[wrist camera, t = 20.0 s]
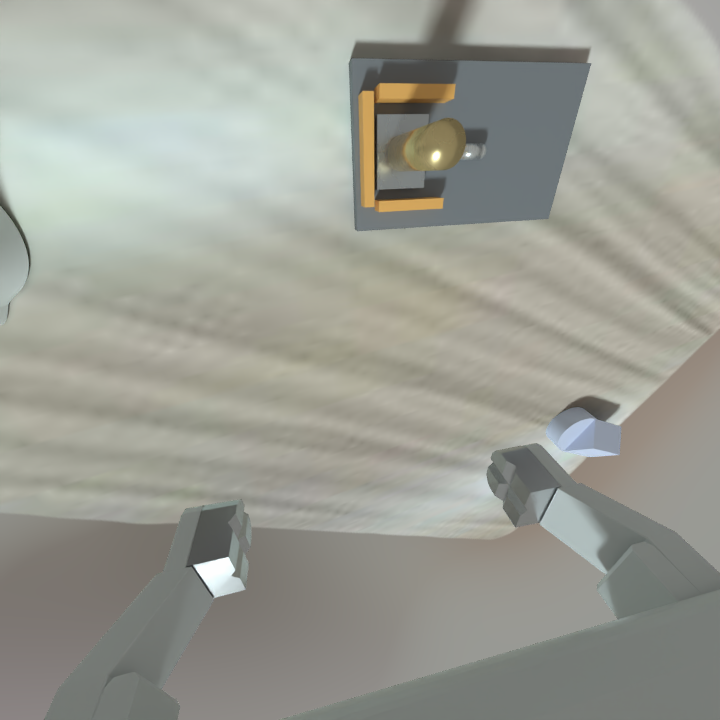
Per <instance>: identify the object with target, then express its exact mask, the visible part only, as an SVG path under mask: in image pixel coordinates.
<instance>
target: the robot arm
mask: <svg viewBox="0 0 720 720" xmlns="http://www.w3.org/2000/svg"><path fill="white" fill-rule="evenodd" d="M28 271H29V260H28V254H27V250H26V247H25V244H24V241H23V239H22V237H21V235H20V233H19V231H18V229H17V228H16V226H15V224H14V223H13V221H12V220H11V219H10V217H9V216H8V215H7V213H6V212H5V211H4V210H3V208H2V207H1V206H0V325H3V324H4V323H5V322H6V319H7V315H8V304H9V302H10V301H11V299H12V298H13V297H14V296H15V295H16V294H17V293H18V292H19V291H20V290H21V289H22V287H23V286H24V284H25V282H26V279H27V276H28ZM491 460H492V461H493V463H492V464H491V465H490V466H489V467H488V470H487V480H488V484H489V486H490V488H491V490H492V492H493V493H494V495H495V496H496V497H498V498H499V499H501V500H503V509H504V511H505V512H506V514H507V515H508V517H509V519H510V520H511V522H512V523H513V525H514V526H515V527H520V526H525V525H530V524H535V523H540V525H541V526H543V527H544V528H545V529H546V530H548V531H549V532H550V533H552V534H553V535H554V536H556V537H557V538H558V539H560V540H561V541H562V542H564V543H565V544H566V545H568V546H569V547H570V548H572V549H573V550H574V551H575V552H577V553H578V554H579V555H581V556H582V557H583V558H585V559H586V560H587V561H589V562H590V563H591V564H593V565H594V566H595V567H596V568H598V569H599V570H600V571H602V572H603V573H604V574H606V575H605V576H604V578H603V579H602V580H601V581H600V582H599V584H598V585H597V591H598V593H599V594H600V595H601V597H602V598H603V600H604V601H605V602H606V604H607V605H608V606H609V608H610V609H611V611H612V612H613V613H614V615H615V616H616V618H617V619H618V620H614V621H611V622H608V623H604V624H601V625H597V626H594V627H591V628H587V629H584V630H581V631H577V632H574V633H570V634H567V635H564V636H560V637H557V638H554V639H550V640H547V641H543V642H540V643H537V644H533V645H530V646H527V647H523V648H520V649H516V650H513V651H510V652H506V653H503V654H499V655H496V656H493V657H489V658H486V659H483V660H479V661H476V662H473V663H469V664H466V665H462V666H459V667H456V668H452V669H449V670H445V671H442V672H439V673H435V674H432V675H429V676H425V677H422V678H418V679H415V680H412V681H409V682H405V683H402V684H398V685H395V686H391V687H388V688H385V689H381V690H378V691H375V692H371V693H368V694H364V695H361V696H358V697H354V698H351V699H348V700H344V701H341V702H337V703H334V704H331V705H327V706H324V707H321V708H317V709H314V710H311V711H307V712H304V713H300V714H297V715H294V716H290V717H287V718H284V719H280V720H720V573H719V572H718V571H717V570H716V569H715V568H714V567H713V566H712V565H710V563H708V562H707V561H706V560H705V559H704V558H703V557H702V556H701V555H700V554H699V553H698V552H697V551H695V550H694V549H693V548H692V547H691V546H690V545H689V544H688V543H687V542H686V541H685V540H684V539H683V538H682V537H681V536H680V535H678V534H677V533H676V532H675V531H673V530H671V529H669V528H667V527H665V526H663V525H661V524H659V523H657V522H655V521H653V520H651V519H650V518H648V517H646V516H644V515H642V514H640V513H638V512H636V511H634V510H632V509H630V508H628V507H626V506H624V505H623V504H621V503H618V502H617V501H615V500H613V499H611V498H609V497H607V496H605V495H603V494H601V493H599V492H597V491H595V490H593V489H592V488H590V487H588V486H586V485H584V484H582V483H579V484H577V483H576V482H575V481H574V480H573V479H572V478H571V477H570V476H569V475H568V474H567V473H566V471H565V470H564V469H563V468H562V467H561V466H560V465H559V464H558V463H557V462H556V461H555V460H554V459H553V458H552V456H551V455H550V454H549V453H548V452H547V451H546V450H545V449H544V448H543V447H542V446H541V445H539V444H537V443H535V444H529V445H524V446H517V447H512V448H507V449H502V450H498V451H495V452H493V453H492V456H491ZM244 506H245V505H244V503H243V501H242V499H239V500H233V501H227V502H221V503H215V504H210V505H203V506H198V507H192V508H187V509H185V511H184V512H183V514H182V515H181V518H180V521H179V524H178V527H177V530H176V534H175V537H174V540H173V543H172V546H171V549H170V552H169V556H168V558H167V561H166V564H165V567H164V570H163V572H162V573H158V574H156V575H155V577H154V578H153V579H152V580H151V581H150V582H149V583H148V585H147V586H146V587H145V588H144V589H143V590H142V592H141V593H140V594H139V595H138V596H137V597H136V599H135V600H134V601H133V602H132V603H131V604H130V606H129V607H128V608H127V609H126V610H125V611H124V613H123V614H122V615H121V616H120V617H119V619H118V620H117V621H116V622H115V623H114V624H113V625H112V627H111V628H110V629H109V630H108V631H107V633H106V634H105V635H104V636H103V637H102V638H101V639H100V641H99V642H98V643H97V644H96V645H95V647H94V648H93V649H92V650H91V651H90V652H89V654H88V655H87V656H86V657H85V658H84V660H82V662H81V663H80V664H79V665H78V666H77V667H76V669H75V670H74V671H73V672H72V673H71V674H70V676H69V677H68V678H67V679H66V680H65V681H64V683H63V684H62V685H61V686H60V687H59V688H58V690H57V693H56V695H55V697H54V699H53V701H52V703H51V706H50V708H49V710H48V712H47V715H46V717H45V719H44V720H177V719H178V714H179V710H180V705H179V703H178V701H177V700H176V699H175V698H173V697H172V696H170V695H169V694H167V693H166V692H164V691H163V690H162V688H163V686H164V684H165V683H166V681H167V679H168V677H169V676H170V674H171V672H172V671H173V669H174V667H175V666H176V664H177V662H178V660H179V659H180V657H181V655H182V654H183V652H184V650H185V648H186V647H187V645H188V643H189V642H190V640H191V638H192V637H193V635H194V633H195V631H196V630H197V628H198V626H199V625H200V623H201V621H202V619H203V618H204V616H205V615H206V613H207V611H208V609H209V608H210V606H211V604H212V603H213V601H214V599H213V598H215V597H219V596H223V595H227V594H231V593H234V592H238V591H242V590H245V589H246V582H247V573H248V565H249V563H248V561H247V559H246V556H245V554H246V553H247V551H248V550H249V548H250V547H251V522H250V518H249V515H248V514H247V513H245V512H244Z"/></svg>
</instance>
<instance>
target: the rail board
mask: <svg viewBox="0 0 720 720" xmlns="http://www.w3.org/2000/svg"><path fill="white" fill-rule="evenodd" d="M590 66H591V63H555V62H507V61H460V60H412V59H364V58H352V59H351V61H350V63H349V78H350V105H351V133H352V161H353V188H354V216H355V230H357V231H366V230H382V229H397V228H413V227H428V226H444V225H459V224H475V223H491V222H506V221H522V220H537V219H548V218H549V214H550V211H551V207H552V203H553V200H554V196H555V193H556V189H557V185H558V182H559V178H560V174H561V171H562V167H563V164H564V160H565V156H566V153H567V149H568V145H569V142H570V138H571V135H572V131H573V127H574V124H575V120H576V116H577V113H578V109H579V106H580V102H581V98H582V95H583V91H584V87H585V84H586V80H587V77H588V73H589V69H590ZM377 114H429V123H428V124H430V123H433V122H436V121H438V120H441V119H444V118H454V119H456V120H457V121H459V122H460V123H461V125H462V126H463V128H464V130H465V134H466V143H483V144H485V146H486V148H487V151H486V154H485V156H484V157H483V158H482V159H479V160H460V161H459V162H458V163H457V164H456V165H455V166H454V167H452V168H450V169H447V170H434V171H425V178H424V188H405V189H382V190H376V189H375V116H376V115H377Z"/></svg>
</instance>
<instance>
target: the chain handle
mask: <svg viewBox="0 0 720 720" xmlns="http://www.w3.org/2000/svg"><path fill="white" fill-rule="evenodd" d="M428 123H429V114H377V115H376V116H375V189H376V190H382V189H405V188H424V178H425V171H434V170H447V169H450V168H452V167H454V166H455V165H456V164H457V163H458V162H459V161H460V160H479V159H482V158H483V157H484V156H485V154H486V151H487V148H486V146H485V144H483V143H466V134H465V130H464V128H463V126H462V125H461V123H460V122H459V121H457V120H456V119H454V118H444V119H441V120H438V121H436V122H433V123H430V124H428Z"/></svg>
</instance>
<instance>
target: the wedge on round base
mask: <svg viewBox="0 0 720 720" xmlns="http://www.w3.org/2000/svg"><path fill="white" fill-rule="evenodd" d="M546 435H547V437H548V438H549V439H550V440H551V441H552V442H553V443H554V444H555V445H556V446H557V447H558V448H559V449H560V450H562V451H565V452H569V453H574V454H578V455H583V456H587V457H596V456H610V455H619V454H620V440H621V426H618V425H614V424H611V423H608V422H604V421H601V420H598V419H596V418H595V417H594V416H592V415H591V414H590V413H589V412H587V411H586V410H585V409H583V408H581V407H574V408H570V409H567V410H565V411H563V412H561V413H560V414H558V415H557V416H556V417H554V418H553V419H552V421H551V422H550V423H549V425H548V427H547V429H546Z"/></svg>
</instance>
